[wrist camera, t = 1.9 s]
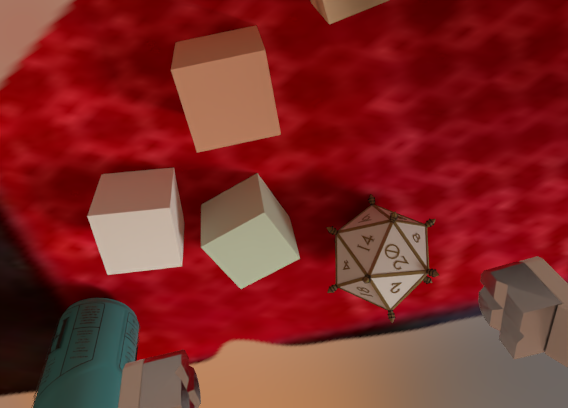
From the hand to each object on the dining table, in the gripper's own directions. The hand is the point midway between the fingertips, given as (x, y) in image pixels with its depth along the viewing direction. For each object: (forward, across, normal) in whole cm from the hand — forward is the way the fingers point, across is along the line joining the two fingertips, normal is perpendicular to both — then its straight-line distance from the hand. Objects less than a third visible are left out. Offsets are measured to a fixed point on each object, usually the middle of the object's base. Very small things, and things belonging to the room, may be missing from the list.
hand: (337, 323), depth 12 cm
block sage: (+22, +2, +11) cm, 24 cm away
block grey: (+22, +9, +8) cm, 25 cm away
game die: (+21, -7, +15) cm, 27 cm away
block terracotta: (+21, +1, 0) cm, 21 cm away
